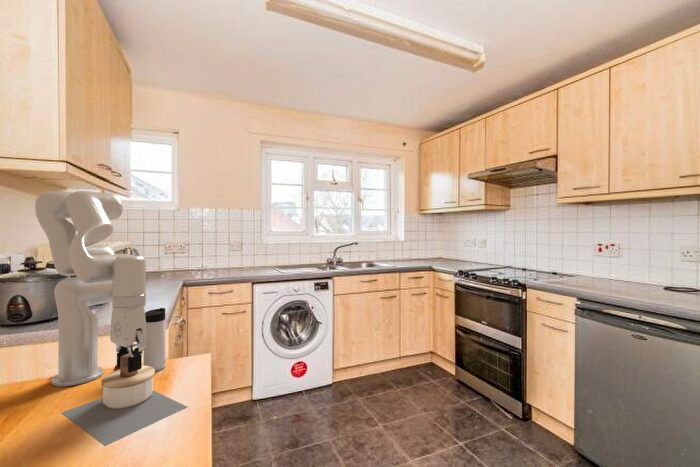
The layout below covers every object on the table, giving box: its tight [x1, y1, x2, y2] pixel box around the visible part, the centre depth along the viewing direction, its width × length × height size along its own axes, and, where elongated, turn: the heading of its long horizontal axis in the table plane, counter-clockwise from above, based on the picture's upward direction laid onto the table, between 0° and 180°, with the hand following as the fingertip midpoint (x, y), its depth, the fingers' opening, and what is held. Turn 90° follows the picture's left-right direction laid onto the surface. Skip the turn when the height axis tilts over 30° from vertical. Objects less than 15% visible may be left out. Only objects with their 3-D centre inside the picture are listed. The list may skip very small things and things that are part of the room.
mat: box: [61, 389, 188, 447], centre depth 85 cm, size 24×19×1 cm
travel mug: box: [143, 307, 167, 373], centre depth 110 cm, size 6×7×20 cm
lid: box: [101, 354, 156, 388], centre depth 90 cm, size 12×12×6 cm
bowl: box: [102, 376, 154, 409], centre depth 90 cm, size 11×11×6 cm
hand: (129, 367), depth 90 cm, fingers open, 5 cm apart
